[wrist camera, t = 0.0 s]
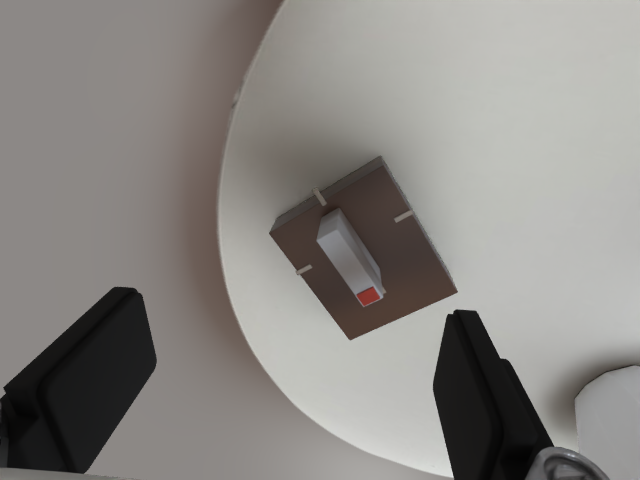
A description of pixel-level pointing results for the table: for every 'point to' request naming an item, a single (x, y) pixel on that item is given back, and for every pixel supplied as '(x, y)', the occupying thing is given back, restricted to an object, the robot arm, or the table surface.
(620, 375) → the vase
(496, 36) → the table surface
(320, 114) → the table surface
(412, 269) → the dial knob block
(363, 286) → the grey rectangular block
